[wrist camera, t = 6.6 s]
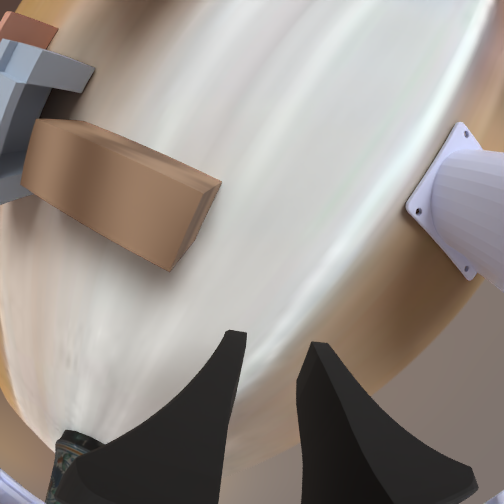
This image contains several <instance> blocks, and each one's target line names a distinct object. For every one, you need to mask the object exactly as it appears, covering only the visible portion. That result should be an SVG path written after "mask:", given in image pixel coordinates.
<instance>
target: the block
mask: <svg viewBox="0 0 504 504" xmlns="http://www.w3.org/2000/svg"><path fill="white" fill-rule="evenodd" d="M94 70H95V68H94V67H92V66H89V65H87V64H84V63H82V62H79V61H77V60H74V59H72V58H69V57H67V56H64V55H61V54H58V53H55V52H52V51H49V50H46V49H42V48H39V47H35V46H32V45H28V44H24V43H20V42H16V41H12V40H7V39H3V38H2V40H1V42H0V205H1V204H4V203H7V202H10V201H13V200H16V199H19V198H22V197H25V196H28V195H32V194H34V193H32V192H31V191H29V190H28V189H26V188H25V187H23V186H22V185H20V182H21V177H22V171H23V166H24V162H25V157H26V153H27V149H28V145H29V141H30V137H31V133H32V130H33V127H34V123H35V120H36V119H39V117H40V114H41V112H42V109H43V107H44V105H45V103H46V100H47V98H48V96H49V94H50V92H51V89H52V88H57V89H63V90H68V91H73V92H78V93H82V91H83V89H84V87H85V86H86V84H87V82H88V80H89V78H90V77H91V75H92V73H93V72H94Z"/></svg>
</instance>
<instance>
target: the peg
mask: <svg viewBox="0 0 504 504" xmlns="http://www.w3.org/2000/svg"><path fill="white" fill-rule="evenodd" d="M221 183H222V181H220V180H218V179H216V178H213V177H211V176H209V175H207V174H205V173H203V172H201V171H199V170H197V169H195V168H192V167H190V166H188V165H186V164H184V163H182V162H179V161H177V160H175V159H173V158H171V157H168V156H166V155H164V154H162V153H159V152H157V151H155V150H153V149H150V148H148V147H146V146H143V145H141V144H139V143H136V142H134V141H132V140H129V139H127V138H125V137H122V136H120V135H117V134H115V133H113V132H110V131H108V130H105V129H103V128H100V127H98V126H95V125H93V124H90V123H87V122H85V121H77V120H62V119H36V120H35V123H34V127H33V130H32V133H31V137H30V141H29V145H28V149H27V153H26V157H25V162H24V166H23V171H22V177H21V182H20V185H22V186H23V187H25V188H26V189H28V190H29V191H31V192H32V193H34V194H35V195H37V196H38V197H40V198H41V199H43V200H45V201H46V202H48V203H49V204H51V205H52V206H54V207H56V208H57V209H59V210H60V211H62V212H64V213H65V214H67V215H69V216H70V217H72V218H74V219H75V220H77V221H79V222H80V223H82V224H84V225H85V226H87V227H89V228H90V229H92V230H94V231H95V232H97V233H99V234H101V235H102V236H104V237H106V238H108V239H109V240H111V241H113V242H115V243H117V244H118V245H120V246H122V247H124V248H125V249H127V250H129V251H131V252H133V253H135V254H136V255H138V256H140V257H142V258H144V259H146V260H148V261H149V262H151V263H153V264H155V265H157V266H159V267H161V268H163V269H165V270H167V271H169V272H170V271H171V270H172V268H173V267H174V266H175V265H176V263H177V262H178V261H179V259H180V258H181V257H182V256H183V254H184V253H185V252H186V251H187V249H188V248H189V247H190V245H191V244H192V243H193V242H194V240H195V239H196V236H197V234H198V232H199V230H200V228H201V225H202V223H203V221H204V219H205V217H206V215H207V213H208V210H209V208H210V206H211V204H212V202H213V200H214V198H215V196H216V194H217V192H218V189H219V187H220V185H221Z"/></svg>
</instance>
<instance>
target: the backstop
mask: <svg viewBox="0 0 504 504" xmlns="http://www.w3.org/2000/svg"><path fill="white" fill-rule="evenodd" d="M57 30H58V28H56V27H53V26H51V25H48V24H46V23H43V22H40V21H38V20H35V19H32V18H29V17H27V16H24V15H21V14H18V13H14V12H8V11H7V12H6V13H5V15H4V16H3V18H2V20H1V21H0V42H1V40H2V38H3V39H7V40H12V41H16V42H20V43H24V44H28V45H32V46H35V47H39V48H42V49H46V48H47V47H48V45H49V43H50V41H51V40H52V38H53V36H54V35H55V33H56V32H57Z"/></svg>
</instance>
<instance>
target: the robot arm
mask: <svg viewBox="0 0 504 504" xmlns="http://www.w3.org/2000/svg"><path fill="white" fill-rule="evenodd" d="M464 132H465V134H466V136H464ZM418 208H419V213H418V214H417V215H416V210H417V209H418ZM406 210H407V212H408V213H409V214H410V215H411V216H412V217H413V218H414V219H415V220H416V221H417V222H418V223H419V224H420V225H421V226H422V228H423V229H424V230H425V231H426V232H427V233H428V234H429V235H430V236H431V237H432V238H433V240H434V241H435V242H436V243H437V244H438V245H439V246H440V247H441V249H442V250H443V251H444V252H445V253H446V254H447V256H448V257H449V258H450V259H451V260H452V262H453V263H454V264H455V265H456V267H457V268H458V269H459V270H460V272H461V273H462V274H463V275H464V277H465V278H466V279H467V280H469V281H470V280H472V279H473V278H474V277H475V275H476V274H477V272H478V273H479V274H480V275H482V276H483V277H484V278H486V279H487V280H488V281H490V282H491V283H492V284H493V285H495V286H496V287H497V288H498V289H500V290H501V291H502V292H503V293H504V153H503V152H495V151H486V150H483V149H482V148H481V146H480V145H479V143H478V142H477V140H476V139H475V138H474V136H473V135H472V133H471V132H470V131H469V129H468V128H467V127H466V125H465V124H464V123H462V122H457V123H456V124H455V126H454V127H453V129H452V131H451V133H450V134H449V136H448V138H447V140H446V141H445V143H444V145H443V146H442V148H441V150H440V151H439V153H438V155H437V156H436V158H435V160H434V161H433V163H432V164H431V166H430V168H429V169H428V171H427V172H426V174H425V175H424V177H423V178H422V180H421V181H420V183H419V184H418V186H417V187H416V189H415V190H414V192H413V193H412V195H411V196H410V198H409V199H408V201H407V202H406ZM465 267H466V268H465ZM246 340H247V333H246V332H240V331H234V330H228V331H226V332H225V334H224V337H223V339H222V341H221V342H220V344H219V346H218V347H217V349H216V350H215V352H214V353H213V355H212V356H211V357H210V359H209V360H208V361H207V363H206V364H205V365H204V367H203V368H202V369H201V370H200V371H199V373H198V374H197V375H196V376H195V377H194V378H193V379H192V380H191V382H190V383H189V384H188V385H187V386H186V387H185V388H184V389H183V390H182V391H181V392H180V393H179V394H178V395H177V396H176V397H175V398H173V399H172V400H171V401H170V402H169V403H168V404H167V405H165V406H164V407H163V408H162V409H160V410H159V411H158V412H157V413H155V414H154V415H153V416H151V417H150V418H149V419H147V420H146V421H145V422H143V423H142V424H140V425H139V426H137V427H135V428H134V429H132V430H130V431H129V432H127V433H125V434H124V435H122V436H120V437H119V438H117V439H115V440H113V441H111V442H110V443H108V444H105V445H103V446H101V447H99V448H97V449H94V450H92V451H90V452H87V453H85V454H83V455H80V456H78V457H76V458H75V459H74V461H73V462H72V463H71V465H70V466H69V467H68V469H67V470H66V472H65V473H64V474H63V477H62V479H61V481H60V483H59V485H58V487H57V489H56V492H55V494H54V498H55V500H56V501H58V502H59V503H61V504H218V501H219V492H220V484H221V476H222V468H223V460H224V453H225V445H226V437H227V430H228V424H229V420H230V416H231V412H232V408H233V404H234V401H235V396H236V392H237V387H238V382H239V377H240V373H241V368H242V363H243V358H244V353H245V348H246ZM296 406H297V414H298V423H299V431H300V439H301V448H302V459H303V478H302V479H303V480H302V499H301V504H459V503H460V502H462V501H464V500H465V499H467V498H468V497H470V496H471V495H472V494H474V493H475V492H476V491H477V490H478V484H477V481H476V479H475V476H474V473H473V471H472V468H471V467H469V466H467V465H465V464H462V463H460V462H458V461H455V460H453V459H451V458H448V457H446V456H444V455H443V454H441V453H439V452H437V451H436V450H434V449H432V448H430V447H429V446H427V445H425V444H424V443H423V442H421V441H420V440H418V439H417V438H416V437H414V436H413V435H411V434H410V433H409V432H407V431H406V430H405V429H404V428H402V427H401V426H400V425H399V424H398V423H397V422H395V421H394V420H393V419H392V418H391V417H390V416H389V415H388V414H387V413H386V412H385V411H383V410H382V409H381V408H380V407H379V405H378V404H377V403H376V402H375V401H374V400H373V399H372V398H371V397H370V396H369V395H368V394H367V392H366V391H365V390H364V389H363V388H362V387H361V385H360V384H359V383H358V382H357V380H356V379H355V378H354V377H353V375H352V374H351V373H350V372H349V370H348V369H347V368H346V366H345V365H344V364H343V362H342V361H341V360H340V358H339V357H338V356H337V354H336V353H335V352H334V350H333V349H332V348H331V347H330V345H329V344H328V343H321V342H311V344H310V347H309V350H308V352H307V355H306V358H305V360H304V363H303V365H302V368H301V371H300V373H299V376H298V378H297V385H296ZM0 504H46V503H45V502H43V501H42V500H40V499H39V498H37V497H36V496H34V495H33V494H31V493H30V492H29V491H27V490H26V489H25V488H23V487H22V485H20V484H19V483H18V482H17V481H15V480H14V479H13V478H12V477H10V476H9V475H8V474H7V473H5V472H4V471H3V470H2V469H1V468H0ZM484 504H504V490H503V491H501V492H500V493H498V494H497V495H496V496H494V497H493V498H491V499H490V500H488V501H487V502H485V503H484Z"/></svg>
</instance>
